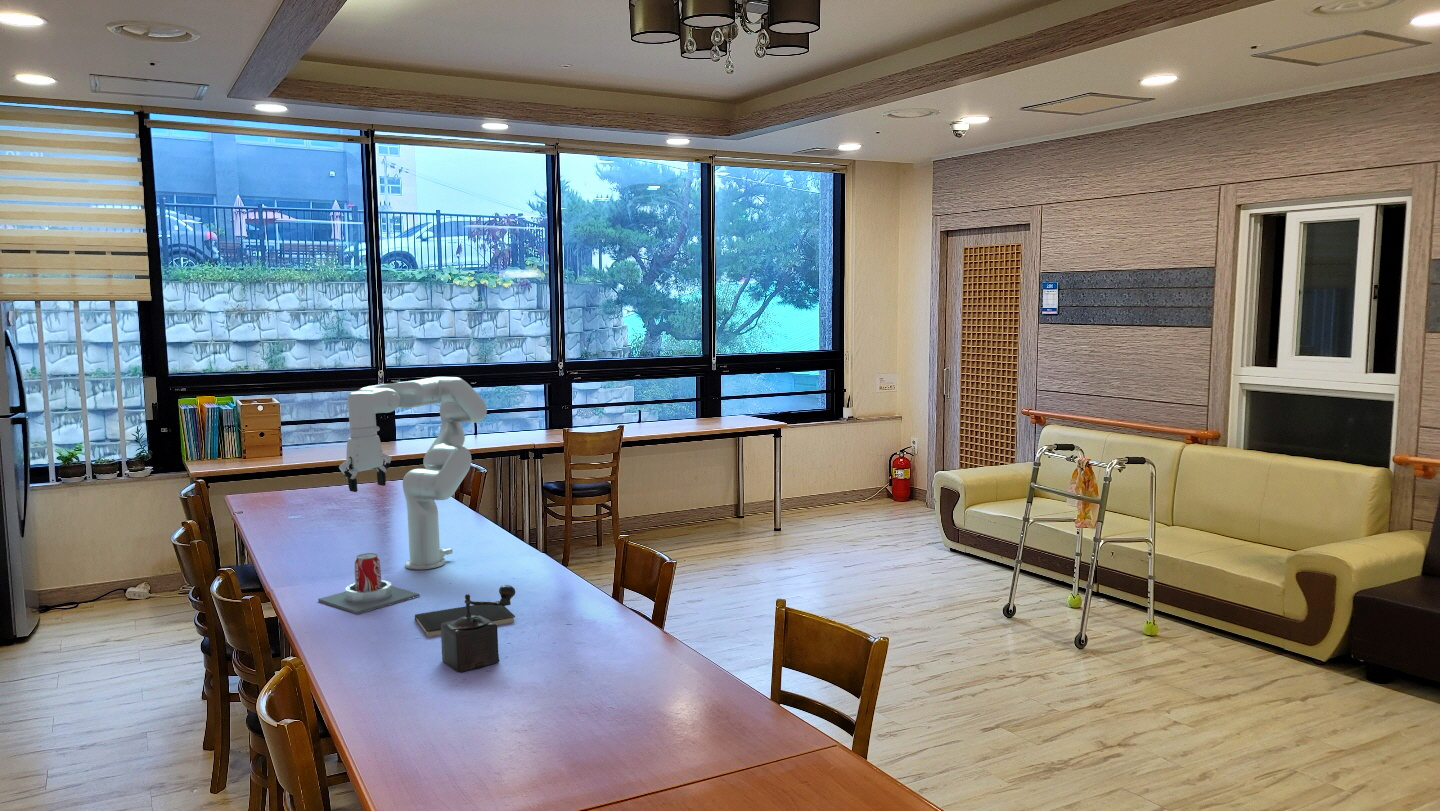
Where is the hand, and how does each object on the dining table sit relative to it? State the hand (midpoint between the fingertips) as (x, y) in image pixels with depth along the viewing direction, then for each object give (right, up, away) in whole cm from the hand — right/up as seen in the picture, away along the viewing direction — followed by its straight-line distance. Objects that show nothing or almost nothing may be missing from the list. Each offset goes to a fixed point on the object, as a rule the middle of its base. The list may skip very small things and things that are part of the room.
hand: (367, 488), depth 301 cm
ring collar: (+5, -31, -13) cm, 34 cm away
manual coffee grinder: (+49, -36, -63) cm, 87 cm away
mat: (+5, -31, -13) cm, 34 cm away
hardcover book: (+38, -34, -34) cm, 61 cm away
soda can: (+5, -30, -13) cm, 33 cm away
